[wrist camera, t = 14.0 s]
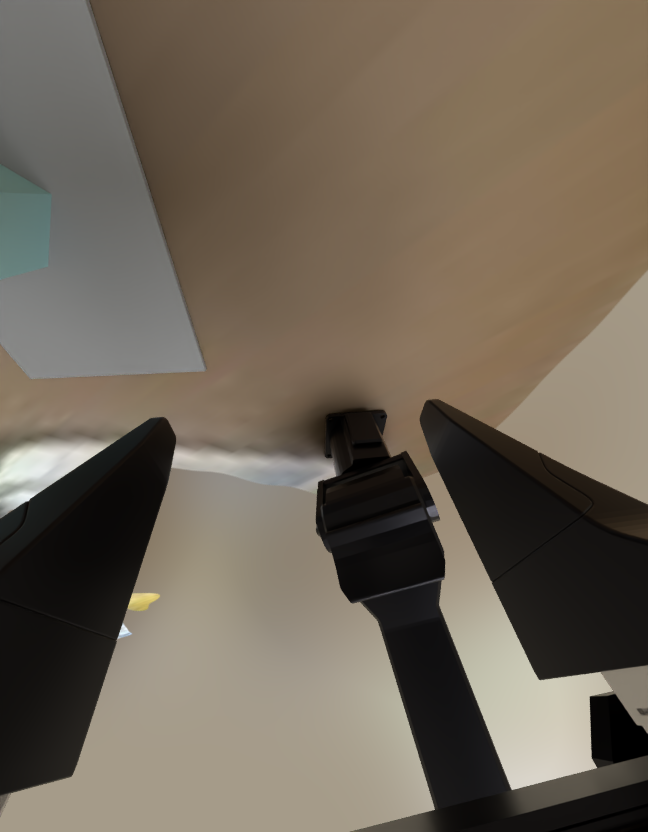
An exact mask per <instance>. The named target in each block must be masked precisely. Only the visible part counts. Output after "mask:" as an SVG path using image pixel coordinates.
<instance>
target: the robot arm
mask: <svg viewBox="0 0 648 832" xmlns="http://www.w3.org/2000/svg"><path fill="white" fill-rule="evenodd" d="M381 415H383V416H381ZM331 418H332V419H331ZM329 419H331V420H329ZM386 419H387V414H386V412H385V411H370V412H355V413H340V414H329V415H327V416H326V427H325V457H326V458H333V462H334V467H335V472H336V477H333V478H330V479H328V480H325V481H324V480H322V481H319V482H318V489H317V507H316V524H317V526H316V532H317V534H318V535H319V536H320V537H321V539H322V541H323V543H324V546H325V547H326V549H327V550H328V552H330V553H332V555H333V558H334V562H335V566H336V570H337V575H338V579H339V584H340V588H341V590H342V591H343V593H344V594H345V596H346V597H347V598H348V600H349V601H350V602H351V603H357V602H361V603H362V604H363V606H364V607H365V608H366V609H367V610H368V611H369V612H370V613H371V614H372V615H373V616H374V617H375V618H376V619H377V621H378V623H379V626H380V629H381V632H382V636H383V639H384V642H385V645H386V649H387V652H388V656H389V659H390V662H391V665H392V668H393V672H394V675H395V678H396V682H397V685H398V688H399V692H400V695H401V698H402V702H403V705H404V708H405V712H406V714H407V718H408V721H409V725H410V728H411V731H412V735H413V738H414V741H415V744H416V748H417V751H418V754H419V758H420V761H421V764H422V768H423V771H424V774H425V777H426V781H427V784H428V787H429V791H430V794H431V797H432V800H433V804H434V807H435V810H433V811H429V812H425V813H421V814H418V815H413V816H410V817H406V818H402V819H398V820H394V821H390V822H387V823H382V824H379V825H375V826H371V827H367V828H363V829H359V830H355V831H351V832H648V504H646V503H643V502H641V501H639V500H637V499H635V498H633V497H630V496H628V495H626V494H624V493H622V492H620V491H617V490H615V489H613V488H611V487H609V486H607V485H605V484H603V483H600V482H598V481H596V480H594V479H592V478H589V477H588V476H586V475H584V474H581V473H579V472H577V471H575V470H573V469H571V468H569V467H567V466H565V465H563V464H561V463H559V462H557V461H555V460H553V459H551V458H549V457H548V456H546V455H544V454H542V453H538V452H537V451H536V450H534V449H532V448H530V447H528V446H527V445H525V444H522V443H521V442H519V441H517V440H515V439H513V438H511V437H509V436H507V435H506V434H503V433H502V432H500V431H498V430H496V429H494V428H492V427H490V426H488V425H487V424H485V423H483V422H481V421H479V420H477V419H475V418H473V417H471V416H469V415H467V414H466V413H464V412H462V411H460V410H458V409H456V408H454V407H452V406H450V405H448V404H446V403H445V402H443V401H441V400H439V399H432V400H427V401H426V402H425V404H424V407H423V410H422V413H421V415H420V424H421V427H422V430H423V433H424V436H425V439H426V441H427V444H428V447H429V450H430V453H431V456H432V458H433V460H434V463H435V465H436V467H437V469H438V471H439V473H440V475H441V477H442V479H443V481H444V483H445V485H446V488H447V490H448V492H449V494H450V496H451V498H452V500H453V502H454V504H455V507H456V509H457V511H458V513H459V515H460V517H461V519H462V521H463V523H464V525H465V527H466V529H467V532H468V534H469V536H470V538H471V540H472V542H473V544H474V546H475V548H476V550H477V553H478V554H479V557H480V559H481V561H482V563H483V565H484V567H485V569H486V571H487V574H488V576H489V577H490V580H491V581H492V584H493V586H494V589H495V591H496V593H497V595H498V597H499V599H500V601H501V603H502V605H503V607H504V609H505V612H506V614H507V616H508V618H509V620H510V622H511V624H512V626H513V628H514V630H515V632H516V635H517V637H518V639H519V641H520V643H521V645H522V647H523V649H524V651H525V653H526V655H527V657H528V660H529V662H530V664H531V666H532V668H533V670H534V672H535V674H536V675H537V677H538V679H539V680H545V679H552V678H558V677H567V676H573V675H580V674H589V673H595V672H601V674H602V675H603V676H604V678H605V680H606V681H607V682H608V684H609V685H610V687H611V688H612V690H613V691H612V692H608V693H604V694H599V695H595V696H590V716H591V717H590V720H591V750H592V759H593V761H594V763H595V764H596V766H597V768H596V769H593V770H589V771H585V772H581V773H577V774H573V775H569V776H565V777H561V778H558V779H554V780H550V781H546V782H542V783H538V784H534V785H530V786H527V787H523V788H519V789H515V790H511V787H510V785H509V782H508V780H507V777H506V775H505V772H504V769H503V767H502V764H501V762H500V759H499V757H498V754H497V752H496V750H495V747H494V744H493V741H492V739H491V736H490V734H489V731H488V729H487V726H486V724H485V721H484V719H483V716H482V713H481V711H480V708H479V706H478V703H477V701H476V698H475V696H474V693H473V691H472V688H471V685H470V683H469V680H468V678H467V675H466V673H465V670H464V668H463V665H462V662H461V660H460V657H459V655H458V652H457V650H456V647H455V645H454V642H453V639H452V637H451V634H450V632H449V630H448V627H447V624H446V622H445V619H444V617H443V614H442V612H441V609H440V606H439V599H440V598H439V597H440V590H441V581H442V580H444V578H445V559H444V551H443V547H442V545H441V543H440V540H439V538H438V535H437V533H436V531H435V528H434V526H433V523H432V522H436V521H439V520H440V518H439V514H438V511H437V508H436V506H435V503H434V501H433V499H432V497H431V494H430V492H429V490H428V488H427V486H426V484H425V482H424V480H423V478H422V476H421V475H420V473H419V471H418V470H417V468H416V466H415V465H414V463H413V461H412V460H411V458H410V456H409V454H408V453H407V451H404V452H402V453H401V454H399V455H396V456H393V457H391V455H390V453H389V451H388V448H387V446H386V444H385V441H384V439H383V437H382V435H383V431H384V427H385V423H386ZM175 444H176V436H175V433H174V431H173V429H172V427H171V425H170V424H169V422H168V420H167V419H166V418H164V417H157V418H150V419H149V420H147V421H146V422H144V423H143V424H141V425H140V426H138V427H137V428H135V429H134V430H132V431H131V432H129V433H128V434H126V435H125V436H123V437H122V438H120V439H119V440H117V441H116V442H114V443H113V444H111V445H110V446H108V447H107V448H105V449H104V450H102V451H101V452H99V453H98V454H96V455H95V456H93V457H92V458H90V459H89V460H87V461H86V462H84V463H83V464H81V465H80V466H78V467H77V468H75V469H74V470H73V471H71V472H70V473H68V474H67V475H65V476H64V477H62V478H61V479H59V480H58V481H56V482H55V483H53V484H52V485H50V486H49V487H47V488H46V489H44V490H43V491H41V492H40V493H38V494H37V495H35V496H34V497H32V498H31V499H30V500H29V501H26V502H25V503H23V504H22V505H20V506H19V507H17V508H16V509H14V510H13V511H11V512H10V513H8V514H7V515H5V516H4V517H2V518H1V519H0V816H1V814H2V812H3V810H4V808H5V806H6V803H7V801H8V799H9V797H10V795H11V793H13V792H17V791H21V790H24V789H28V788H32V787H35V786H39V785H43V784H47V783H50V782H54V781H58V780H62V779H65V778H69V777H71V776H72V775H73V773H74V770H75V768H76V765H77V762H78V760H79V757H80V753H81V750H82V747H83V744H84V741H85V738H86V735H87V732H88V729H89V726H90V722H91V719H92V716H93V713H94V710H95V707H96V704H97V701H98V698H99V695H100V692H101V688H102V686H103V682H104V679H105V676H106V673H107V670H108V667H109V664H110V661H111V658H112V655H113V651H114V649H115V646H116V642H117V641H116V640H117V638H118V636H119V632H120V629H121V626H122V623H123V620H124V617H125V614H126V611H127V608H128V605H129V602H130V598H131V595H132V592H133V589H134V586H135V583H136V580H137V577H138V574H139V571H140V568H141V564H142V561H143V558H144V555H145V552H146V549H147V546H148V543H149V540H150V537H151V534H152V531H153V527H154V524H155V521H156V518H157V515H158V512H159V509H160V506H161V502H162V500H163V496H164V494H165V491H166V487H167V484H168V480H169V476H170V471H171V465H172V460H173V455H174V450H175Z"/></svg>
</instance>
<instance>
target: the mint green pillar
mask: <svg viewBox="0 0 648 832" xmlns="http://www.w3.org/2000/svg"><path fill="white" fill-rule="evenodd" d="M51 198H52V194H50V193H48V192H47V191H45V190H43V189H42V188H40V187H38V186H37V185H35V184H33V183H32V182H30V181H28V180H26V179H25V178H23V177H21V176H20V175H18V174H16V173H15V172H13V171H11V170H10V169H8V168H6V167H5V166H3V165H1V164H0V280H1V279H4V278H8V277H12V276H15V275H19V274H23V273H26V272H30V271H34V270H37V269H41V268H45V267H48V258H49V238H50V218H51Z"/></svg>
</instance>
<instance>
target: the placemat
mask: <svg viewBox="0 0 648 832" xmlns="http://www.w3.org/2000/svg"><path fill="white" fill-rule="evenodd" d="M0 164H1V165H3V166H5V167H6V168H8V169H10V170H11V171H13V172H15V173H16V174H18V175H20V176H21V177H23V178H25V179H26V180H28V181H30V182H32V183H33V184H35V185H37V186H38V187H40V188H42V189H43V190H45V191H47V192H48V193H50V194H52V198H51V218H50V238H49V258H48V267H45V268H41V269H37V270H34V271H30V272H26V273H23V274H19V275H15V276H12V277H8V278H4V279H1V280H0V344H1V346H2V347H3V348H4V349H5V350H6V351H7V353H8V354H9V355H10V356H11V357H12V358H13V359H14V361H15V362H16V363H17V364H18V365H19V366H20V368H21V369H22V370H23V371H24V372H25V373H26V375H27V376H28V377H29V378H30V379H43V378H65V377H87V376H109V375H131V374H153V373H175V372H197V371H206V369H207V368H206V365H205V361H204V358H203V355H202V352H201V349H200V346H199V343H198V340H197V336H196V333H195V330H194V327H193V324H192V321H191V318H190V315H189V311H188V308H187V305H186V302H185V299H184V296H183V293H182V290H181V286H180V283H179V280H178V277H177V274H176V271H175V268H174V265H173V261H172V258H171V255H170V252H169V249H168V246H167V243H166V240H165V236H164V233H163V230H162V227H161V224H160V221H159V218H158V215H157V211H156V208H155V205H154V202H153V199H152V196H151V193H150V190H149V186H148V183H147V180H146V177H145V174H144V171H143V168H142V165H141V161H140V158H139V155H138V152H137V149H136V146H135V143H134V140H133V136H132V133H131V130H130V127H129V124H128V121H127V118H126V115H125V111H124V108H123V105H122V102H121V99H120V96H119V93H118V90H117V86H116V83H115V80H114V77H113V74H112V71H111V68H110V65H109V61H108V58H107V55H106V52H105V49H104V46H103V43H102V40H101V36H100V33H99V30H98V27H97V24H96V21H95V18H94V15H93V11H92V8H91V5H90V2H89V0H0Z"/></svg>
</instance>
